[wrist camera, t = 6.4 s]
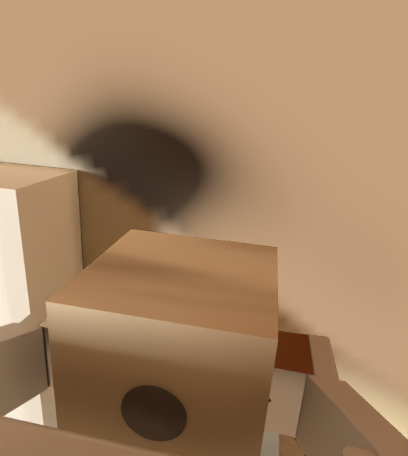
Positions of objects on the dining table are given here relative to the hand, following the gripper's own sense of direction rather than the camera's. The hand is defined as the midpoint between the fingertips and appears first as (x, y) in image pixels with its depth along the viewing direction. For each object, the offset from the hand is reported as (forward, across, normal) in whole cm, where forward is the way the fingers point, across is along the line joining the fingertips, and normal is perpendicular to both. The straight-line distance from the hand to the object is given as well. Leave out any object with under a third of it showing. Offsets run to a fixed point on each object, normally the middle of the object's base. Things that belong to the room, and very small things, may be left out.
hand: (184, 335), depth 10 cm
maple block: (+2, 0, 0) cm, 2 cm away
